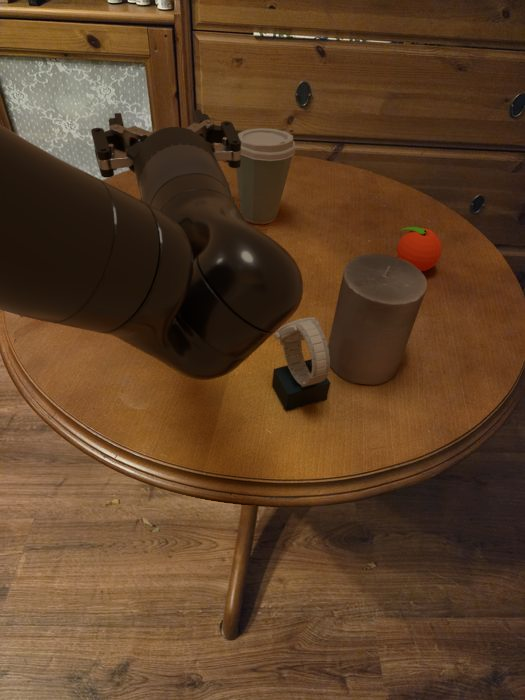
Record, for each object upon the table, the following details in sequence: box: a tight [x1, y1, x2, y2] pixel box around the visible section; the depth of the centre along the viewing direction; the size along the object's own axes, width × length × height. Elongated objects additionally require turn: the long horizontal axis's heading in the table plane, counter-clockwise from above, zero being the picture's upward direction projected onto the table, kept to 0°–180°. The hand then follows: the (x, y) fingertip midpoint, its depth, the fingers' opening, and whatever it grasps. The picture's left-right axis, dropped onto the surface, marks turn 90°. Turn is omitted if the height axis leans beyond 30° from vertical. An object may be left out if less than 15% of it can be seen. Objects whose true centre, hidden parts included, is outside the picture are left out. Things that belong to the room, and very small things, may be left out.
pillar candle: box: [327, 253, 428, 386], centre depth 61 cm, size 10×10×15 cm
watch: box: [271, 316, 331, 412], centre depth 58 cm, size 6×8×11 cm
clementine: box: [396, 226, 443, 272], centre depth 80 cm, size 8×7×7 cm
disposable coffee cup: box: [235, 127, 296, 225], centre depth 87 cm, size 11×11×15 cm
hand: (158, 120), depth 55 cm, fingers open, 8 cm apart
